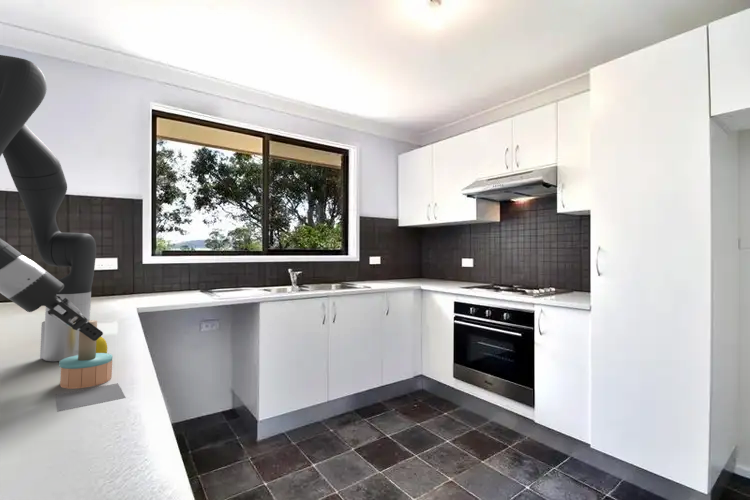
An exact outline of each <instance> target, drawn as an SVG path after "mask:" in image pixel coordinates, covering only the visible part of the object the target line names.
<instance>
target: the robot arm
mask: <svg viewBox="0 0 750 500" xmlns="http://www.w3.org/2000/svg"><path fill="white" fill-rule="evenodd" d="M47 88H48V86H47V78H46V77H45V75H44V73H43V71H42V70H41V68H39V66H38V65H37V64H35V63H34V62H32V61H30V60H28V59H26V58H22V57H16V56H11V55H6V54H5V55H4V54H0V157H1V156H3V158H4V160H5V161H4V162H5V163H6V165H7V166H6V167H7V168H8V171H9V173H10V174H9V175H10V176H11V179H12V181H13V184H14V186H15V188H16V190H17V192H18V194H19V197H20V200H21V201H22V203H23V206H24V209H25V211H26V213H27V216H28V220H29V223H30V225H31V230H32V233H33V237H34V240H35V244H36V248H37V250H38V251H37V252H38V254H39V257H40V258H41V260H42V261H43V262H44V263H45V264H46V265H47V266H49V267H57V268H59V267H60V268H70V272H69V273H68V274H67V275H65V276H64V277H61V278H56V277H55V276H54V275H53V274H51V273H50V272H49V271H47V270H46V269H44V268H43V267H42V266H41V265H39V264H38V263H37V262H35V261H34V260H32V259H30V258H29V257H27V256H25V255H23V253H21V252H20V251H19V250H17V249H16V248H14V247H13V246H12V245H10V244H9V243H8V242H6V240H3V239H2V238H0V294H1V295H2V296H4V297H5V298H6V299H8V300H10V301H12V302H13V303H14V304H15V305H17V306H18V307H19V308H21V309H23V310H24V311H25V312H28V313H32V312H35V311H37V310H39V309H40V308H41V307H45V312H44V313H45V314H44V315H45V318H44V321H43V322H41V327H40V329H41V332H40V348H39V349H40V350H39V351H40V353H39V359H42V360H43V361H44V362H60V361H61V360H62V359H65V358H68V357H71V356H76V355H78V347H79V331H80V332H82V333H83V334H84V335H86V336H87V337H89V338H90V339H92V340H93V341H96V340H97V339H98V338H100V337H102V336H103V335H104V332H103V331H102V330H101V329H99V328H98V327H97V328H96V327H95V326H94V325H92V324H91V323H90V322H89V320H91V308H92V307H91V306H92V305H91V304H92V287H93V283H94V277H95V265H96V257H97V244H96V243H97V242H96V239H95V238H94V237H93V235H91V234H90V233H84V232H67V231H66V232H61V231H60V229H59V227H58V223H57V218H56V217H57V212H58V211H59V208H60V207H61V204H62V203H63V201H64V199H65V196H66V194H67V192H68V191H67V190H68V184H67V180H66V177H65V174H64V171H63V168H62V165H61V163H60V160H59V158H58V157H57V156H56V155H55V153H54V152H53V151H52V150H51V149H50V148H49V147H48V146H47V145H46V143H45V142H43V141H42V139H40V138H39V137H38V136H37V135H36V134H35V133H34V132H33V131H32V130H31V128H30V127H28V126H29V125H28V124H26V123H27V122H28V120H29V119H30V118H31V116H32V115H33V114H34V113H35V111H37V109H38V108H39V107H40V106H41V104H42V103H43V100H44V99H45V96H46V94H47V91H48V89H47Z"/></svg>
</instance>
